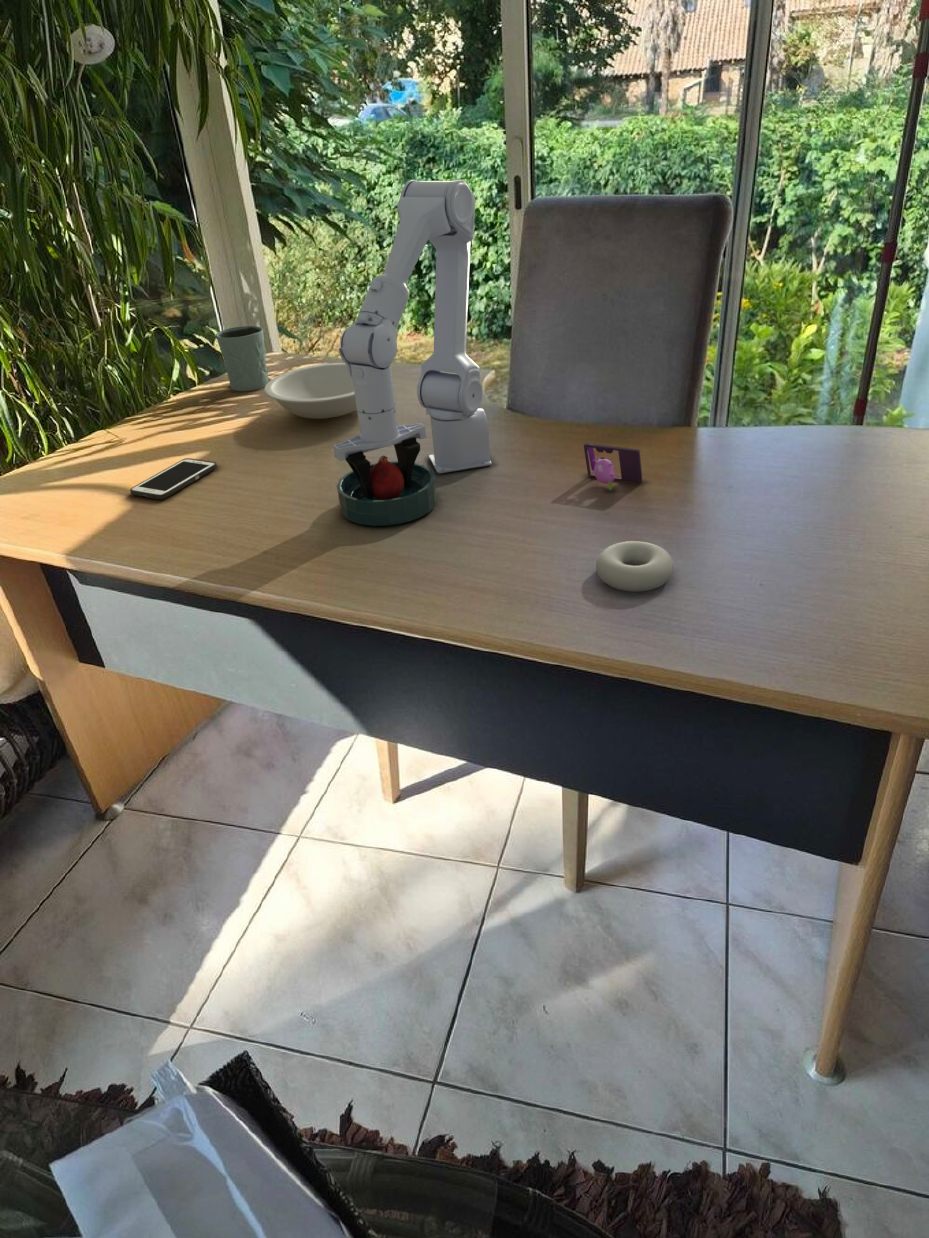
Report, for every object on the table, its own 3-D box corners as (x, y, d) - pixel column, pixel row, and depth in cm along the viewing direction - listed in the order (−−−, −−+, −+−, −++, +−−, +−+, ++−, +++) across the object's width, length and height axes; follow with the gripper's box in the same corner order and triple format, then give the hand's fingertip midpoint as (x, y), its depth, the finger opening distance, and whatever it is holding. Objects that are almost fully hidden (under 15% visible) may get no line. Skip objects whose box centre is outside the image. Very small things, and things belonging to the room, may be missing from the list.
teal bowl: (426, 480, 146) (423, 455, 143) (446, 518, 133) (443, 491, 131) (336, 495, 143) (331, 470, 141) (348, 535, 131) (343, 508, 128)
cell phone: (129, 495, 149) (127, 489, 149) (187, 462, 160) (185, 457, 160) (162, 501, 146) (161, 495, 146) (219, 467, 157) (218, 462, 156)
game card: (641, 446, 134) (585, 440, 138) (630, 469, 131) (574, 462, 135) (643, 478, 139) (590, 471, 143) (634, 501, 136) (579, 493, 140)
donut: (660, 555, 119) (588, 562, 119) (662, 533, 117) (588, 539, 117) (682, 593, 111) (604, 600, 110) (684, 569, 109) (605, 576, 108)
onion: (401, 512, 135) (395, 464, 131) (365, 511, 136) (358, 463, 132) (410, 496, 140) (405, 449, 135) (376, 495, 141) (369, 449, 136)
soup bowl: (382, 429, 167) (378, 396, 164) (259, 438, 168) (252, 405, 165) (392, 389, 187) (388, 359, 184) (282, 397, 189) (276, 366, 185)
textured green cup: (221, 392, 194) (208, 338, 188) (238, 378, 203) (226, 325, 196) (263, 391, 193) (252, 336, 186) (279, 377, 201) (269, 324, 194)
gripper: (408, 390, 135) (417, 471, 142) (320, 411, 130) (334, 494, 137) (428, 401, 130) (436, 485, 137) (338, 424, 124) (352, 510, 132)
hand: (387, 491), depth 137 cm, fingers closed on onion, 6 cm apart
